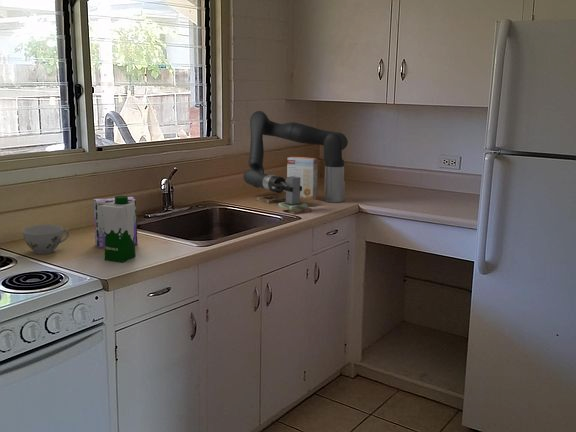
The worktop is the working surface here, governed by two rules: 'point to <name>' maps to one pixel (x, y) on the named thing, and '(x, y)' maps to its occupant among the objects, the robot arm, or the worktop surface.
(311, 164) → the cracker box
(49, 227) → the teacup
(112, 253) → the milk carton
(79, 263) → the worktop surface
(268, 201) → the olive flat piece
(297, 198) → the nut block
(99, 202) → the candy box
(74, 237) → the worktop surface
